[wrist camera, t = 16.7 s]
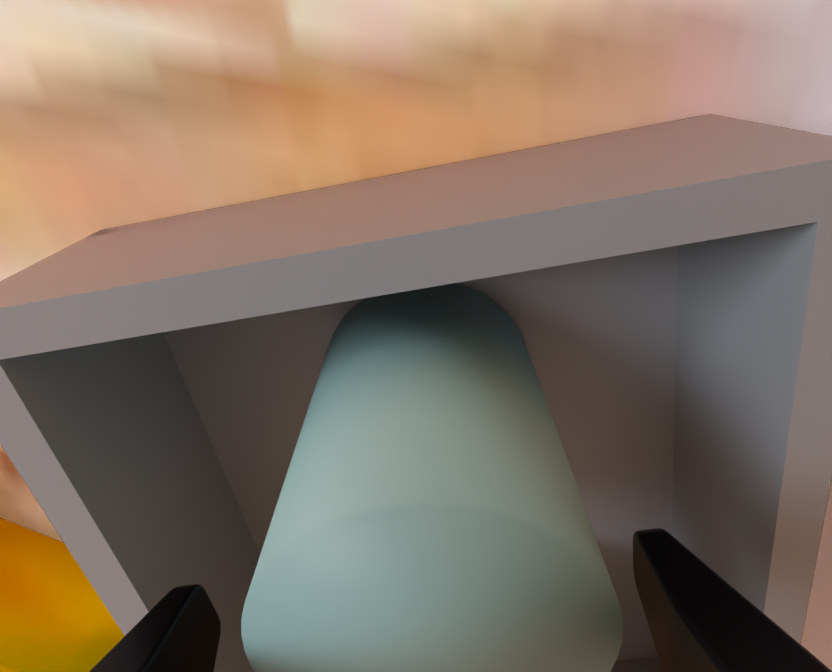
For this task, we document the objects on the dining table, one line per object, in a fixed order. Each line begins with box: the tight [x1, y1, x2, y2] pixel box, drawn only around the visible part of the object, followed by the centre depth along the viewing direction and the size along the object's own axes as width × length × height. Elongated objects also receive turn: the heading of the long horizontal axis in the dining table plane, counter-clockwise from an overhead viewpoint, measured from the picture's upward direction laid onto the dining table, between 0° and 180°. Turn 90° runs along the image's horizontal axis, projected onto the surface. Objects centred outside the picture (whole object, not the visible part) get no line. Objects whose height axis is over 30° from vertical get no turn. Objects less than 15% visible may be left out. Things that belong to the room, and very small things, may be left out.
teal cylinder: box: [241, 283, 623, 672], centre depth 10 cm, size 5×5×7 cm
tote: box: [0, 114, 832, 672], centre depth 14 cm, size 14×18×5 cm
